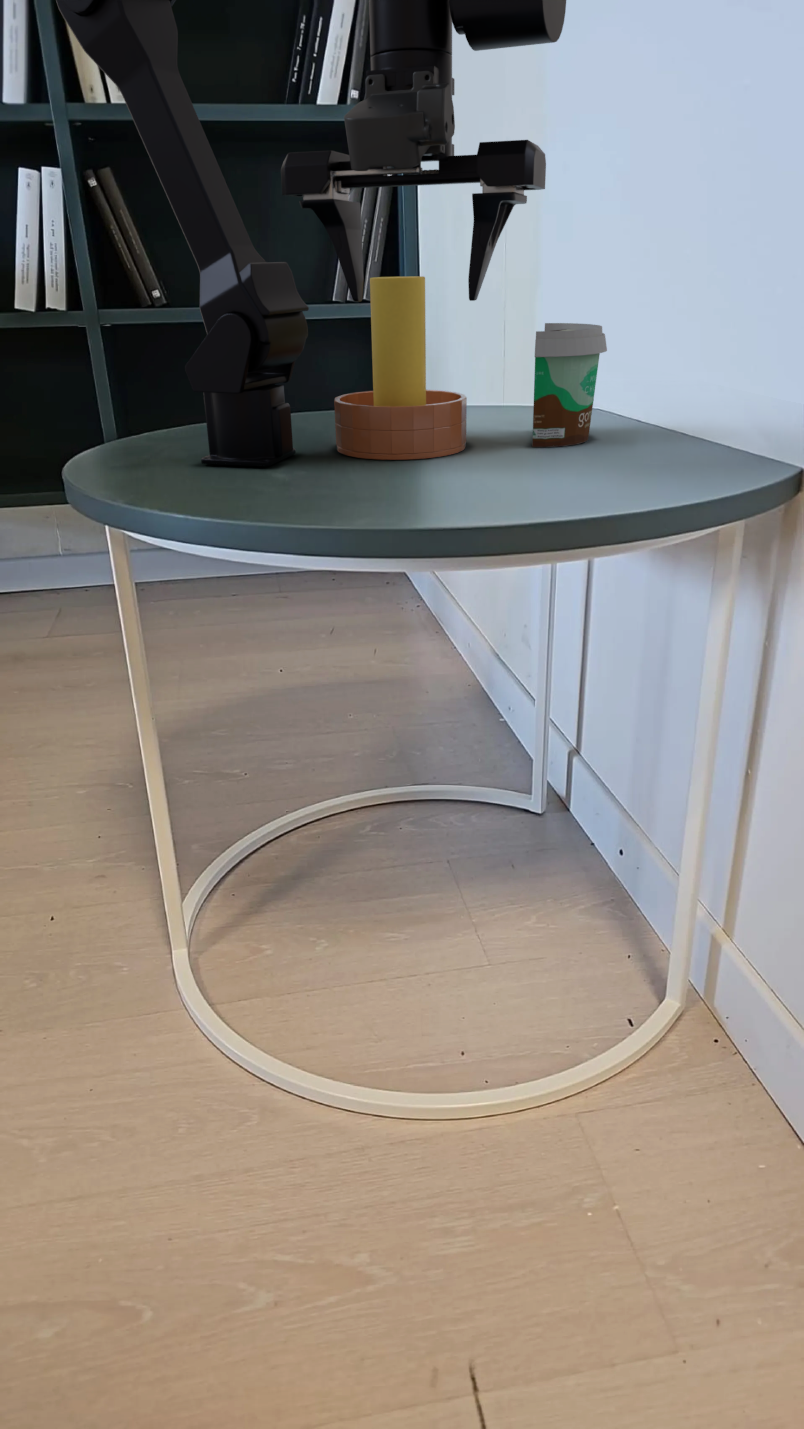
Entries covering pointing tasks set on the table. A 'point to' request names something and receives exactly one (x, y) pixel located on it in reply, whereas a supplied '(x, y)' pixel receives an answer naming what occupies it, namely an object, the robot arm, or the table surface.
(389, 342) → the tall yellow cylinder
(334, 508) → the table surface
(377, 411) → the bowl
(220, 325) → the robot arm
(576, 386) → the paper coffee cup
